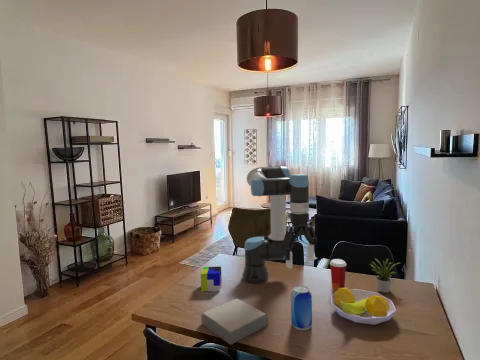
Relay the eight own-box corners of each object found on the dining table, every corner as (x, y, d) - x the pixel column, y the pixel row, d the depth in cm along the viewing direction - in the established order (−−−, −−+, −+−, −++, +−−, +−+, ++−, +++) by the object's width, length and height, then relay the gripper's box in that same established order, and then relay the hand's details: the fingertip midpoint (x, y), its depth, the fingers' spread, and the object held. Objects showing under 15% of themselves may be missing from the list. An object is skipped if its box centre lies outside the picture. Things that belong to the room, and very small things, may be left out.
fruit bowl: (362, 296, 154) (362, 274, 153) (410, 323, 128) (410, 297, 127) (314, 308, 144) (314, 284, 143) (356, 340, 118) (356, 312, 118)
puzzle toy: (220, 291, 164) (219, 273, 163) (201, 292, 164) (200, 273, 163) (221, 283, 174) (221, 266, 173) (203, 284, 174) (203, 266, 173)
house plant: (394, 284, 166) (395, 254, 165) (405, 296, 153) (406, 263, 151) (367, 283, 168) (367, 254, 166) (375, 295, 154) (376, 263, 153)
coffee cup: (344, 286, 166) (344, 258, 165) (348, 292, 158) (348, 264, 157) (328, 285, 167) (328, 258, 166) (331, 292, 159) (331, 264, 157)
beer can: (296, 333, 124) (296, 294, 123) (288, 322, 132) (287, 286, 131) (315, 329, 126) (315, 291, 125) (306, 319, 134) (305, 283, 133)
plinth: (237, 308, 146) (237, 297, 146) (267, 325, 131) (267, 313, 130) (201, 323, 133) (201, 312, 133) (230, 345, 118) (230, 332, 117)
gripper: (285, 218, 114) (286, 274, 116) (325, 209, 130) (326, 258, 132) (271, 215, 120) (272, 268, 122) (311, 207, 136) (311, 254, 138)
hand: (300, 263), depth 127 cm, fingers open, 13 cm apart
